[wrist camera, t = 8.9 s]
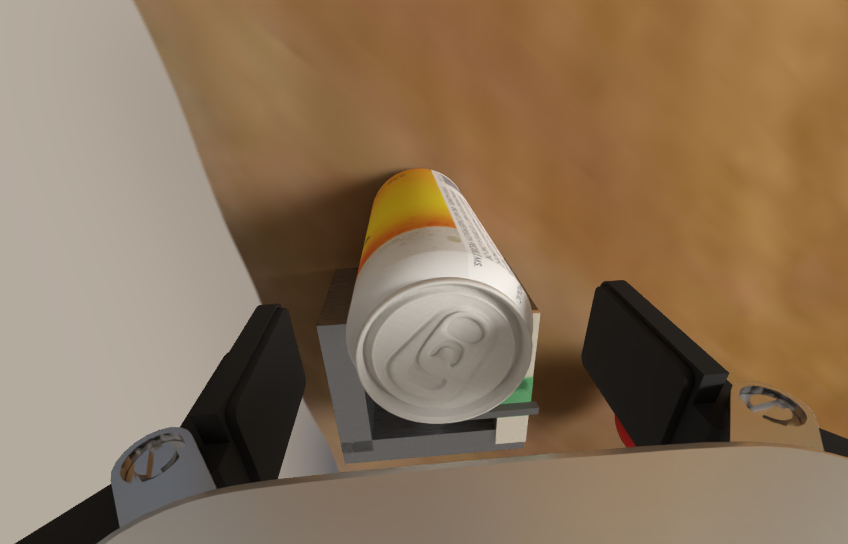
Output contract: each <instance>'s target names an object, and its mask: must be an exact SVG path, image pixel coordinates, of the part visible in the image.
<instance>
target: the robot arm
mask: <svg viewBox="0 0 848 544" xmlns="http://www.w3.org/2000/svg"><path fill="white" fill-rule="evenodd" d="M582 362H583V365H584V367H585V369H586V370H587V372H588V373H589V375H590V376H591V378H592V379H593V381H594V382H595V384H596V386H597V387H598V389H599V390H600V392H601V393H602V395H603V396H604V398H605V399H606V401H607V403H608V404H609V406H610V407H611V409H612V410H613V412H614V413H615V415H616V416H617V418H618V419H619V421H620V423H621V424H622V426H623V427H624V429H625V430H626V432H627V433H628V435H629V436H630V438H631V440H632V441H633V443H634V444H635V446H636V447H628V448H616V449H604V450H591V451H579V452H567V453H554V454H542V455H531V456H519V457H507V458H496V459H484V460H473V461H461V462H450V463H438V464H427V465H416V466H406V467H395V468H384V469H373V470H362V471H351V472H341V473H331V474H321V475H312V476H303V477H293V478H284V479H278V476H279V473H280V469H281V466H282V463H283V459H284V456H285V452H286V449H287V446H288V442H289V439H290V436H291V432H292V429H293V426H294V422H295V419H296V416H297V412H298V409H299V405H300V402H301V399H302V396H303V392H304V389H305V381H306V380H305V373H304V370H303V366H302V362H301V358H300V354H299V350H298V347H297V343H296V339H295V335H294V331H293V328H292V324H291V320H290V316H289V312H288V310H287V309H286V308H282V307H281V306H280V305H279V304H269V305H259V306H258V307H257V308H256V309H255V311H254V313H253V314H252V316H251V317H250V319H249V321H248V323H247V324H246V325H245V327H244V329H243V330H242V332H241V334H240V335H239V337H238V339H237V340H236V342H235V343H234V345H233V347H232V348H231V350H230V352H229V353H227V354H226V355H225V356H224V357H223V359H222V360H221V362H220V364H219V366H218V367H217V369H216V370H215V372H214V373H213V375H212V377H211V378H210V380H209V381H208V383H207V385H206V386H205V388H204V390H203V391H202V393H201V394H200V396H199V397H198V399H197V401H196V402H195V404H194V405H193V407H192V409H191V410H190V412H189V414H188V415H187V417H186V418H185V420H184V421H183V423H182V425H181V426H180V427H169V428H165V429H161V430H158V431H156V432H153V433H151V434H149V435H146V436H145V437H143V438H142V439H140V440H138V441H137V442H135V443H134V444H133V445H132V446H131V447H129V448H128V449H127V450H126V451H125V452H124V453H123V454H122V455H121V457H120V458H119V459H118V460H117V461H116V463H115V465H114V467H113V469H112V472H111V484H110V485H108V486H107V487H105V488H104V489H102V490H101V491H99V492H97V493H96V494H94V495H93V496H91V497H89V498H88V499H86V500H85V501H83V502H81V503H80V504H78V505H76V506H75V507H73V508H71V509H70V510H68V511H67V512H65V513H63V514H62V515H61V516H59V517H57V518H56V519H54V520H52V521H51V522H49V523H47V524H46V525H44V526H43V527H41V528H39V529H38V530H36V531H34V532H33V533H31V534H30V535H28V536H26V537H25V538H23V539H22V540H20V541H18V542H17V543H15V544H848V439H846V438H844V437H841V436H838V435H836V434H833V433H831V432H828V431H825V430H823V429H820V428H819V427H818V422H817V419H816V417H815V415H814V413H813V412H812V411H811V410H810V409H809V408H808V407H807V405H806V404H804V403H803V402H802V401H800V400H799V399H798V398H796V397H795V396H793V395H791V394H789V393H787V392H786V391H784V390H782V389H779V388H777V387H774V386H771V385H769V384H764V383H760V382H754V381H742V382H738V383H736V384H734V385H732V384H731V383H730V382H729V381H727V380H726V379H727V377H728V375H729V372H728V371H726V370H725V369H724V368H723V367H722V366H721V365H720V364H719V363H717V362H716V361H715V360H714V359H713V358H712V357H711V356H710V355H708V354H707V353H706V352H705V351H704V350H703V349H702V348H701V347H699V346H698V345H697V344H696V343H695V342H694V341H693V340H692V339H690V338H689V337H688V336H687V335H686V334H685V333H684V332H682V331H681V330H680V329H679V328H678V327H677V326H676V325H675V324H673V323H672V322H671V321H670V320H669V319H668V318H667V317H666V316H664V315H663V314H662V313H661V312H660V311H659V310H658V309H657V308H655V307H654V306H653V305H652V304H651V303H650V302H649V301H648V300H646V299H645V298H644V297H643V296H642V295H641V294H640V293H639V292H637V291H636V290H635V289H634V288H633V287H632V286H631V285H630V284H628V283H627V282H626V281H624V280H618V281H604V282H603V283H602V284H601V286H599V287H597V288H596V290H595V294H594V299H593V303H592V308H591V313H590V317H589V322H588V327H587V332H586V336H585V341H584V346H583V351H582Z"/></svg>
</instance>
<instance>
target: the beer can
mask: <svg viewBox="0 0 848 544" xmlns="http://www.w3.org/2000/svg"><path fill="white" fill-rule="evenodd" d="M532 334H533V313H532V308H531V305H530V302H529V299H528V297H527V294H526V293H525V291H524V289H523V288H522V286H521V285H520V283H519V282H518V280H517V278H516V277H515V275H514V274H513V272H512V271H511V269H510V268H509V266H508V265H507V263H506V261H505V260H504V258H503V257H502V255H501V254H500V252H499V251H498V249H497V247H496V246H495V244H494V243H493V241H492V240H491V238H490V237H489V235H488V234H487V232H486V230H485V229H484V227H483V226H482V224H481V223H480V221H479V220H478V218H477V217H476V215H475V213H474V212H473V210H472V209H471V207H470V206H469V204H468V203H467V201H466V200H465V198H464V196H463V195H462V193H461V192H460V190H459V189H458V187H457V186H456V185H455V184H454V183H453V182H452V181H451V180H450V179H449V178H448V177H446V176H445V175H443V174H441V173H439V172H437V171H434V170H430V169H422V168H417V169H409V170H405V171H402V172H400V173H398V174H396V175H394V176H393V177H391V178H390V179H389V180H387V181H386V182H385V183H384V184H383V186H382V187H381V188H380V190H379V191H378V193H377V195H376V197H375V199H374V203H373V207H372V211H371V216H370V220H369V224H368V229H367V233H366V238H365V242H364V247H363V251H362V256H361V260H360V265H359V269H358V274H357V278H356V283H355V287H354V292H353V296H352V301H351V305H350V309H349V314H348V319H347V324H346V344H347V348H348V352H349V355H350V358H351V360H352V363H353V364H354V366H355V368H356V371H357V375H358V377H359V380H360V382H361V384H362V386H363V388H364V389H365V391H366V392H367V394H368V395H369V396H370V397H371V398H372V399H373V400H374V401H375V402H376V403H377V404H378V405H380V406H381V407H382V408H384V409H385V410H387V411H388V412H390V413H392V414H394V415H396V416H399V417H401V418H404V419H407V420H411V421H415V422H421V423H430V424H445V423H454V422H459V421H464V420H468V419H471V418H474V417H477V416H479V415H481V414H484V413H486V412H488V411H490V410H491V409H493V408H495V407H496V406H498V405H499V404H501V403H502V402H503V401H505V400H506V399H507V398H508V397H509V396H510V395H511V394H512V393H513V392H514V391H515V390H516V389H517V387H518V386H519V385H520V384H521V382H522V380H523V379H524V377H525V375H526V373H527V371H528V369H529V366H530V362H531V358H532V347H533V344H532Z"/></svg>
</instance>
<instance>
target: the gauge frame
mask: <svg viewBox="0 0 848 544" xmlns="http://www.w3.org/2000/svg"><path fill="white" fill-rule="evenodd" d="M504 260H505V258H504ZM505 261H506V260H505ZM506 263H507V261H506ZM507 265H508V266H509V264H508V263H507ZM509 268H510V269H511V267H510V266H509ZM358 269H359V268H351V269H336V271H335V274H334V277H333V280H332V283H331V286H330V289H329V291H328V294H327V297H326V300H325V303H324V306H323V309H322V311H321V314H320V317H319V320H318V323H317V326H316V327H317V332H318V337H319V341H320V346H321V351H322V356H323V361H324V365H325V370H326V375H327V380H328V385H329V389H330V394H331V399H332V404H333V408H334V413H335V418H336V423H337V428H338V432H339V437H340V442H341V447H342V452H343V456H344V461H345V464H348V463H359V462H370V461H381V460H393V459H404V458H415V457H426V456H438V455H449V454H460V453H472V452H483V451H494V450H505V449H517V448H523V443H524V442H526V433H527V425H528V416H529V415H523V416H511V417H499V418H487V419H476V420H464V421H459V422H454V423H445V424H430V423H421V422H415V421H411V420H407V419H404V418H401V417H399V416H396V415H394V414H392V413H390V412H388V411H387V410H385V409H384V408H382V407H381V406H380V405H378V404H377V403H376V402H375V401H374V400H373V399H372V398H371V397H370V396H369V395H368V394H367V392H366V391H365V389H364V388H363V386H362V384H361V382H360V380H359V377H358V375H357V371H356V368H355V366H354V364H353V363H352V360H351V358H350V355H349V352H348V348H347V344H346V324H347V319H348V314H349V309H350V305H351V301H352V296H353V292H354V287H355V283H356V278H357V274H358ZM511 271H512V272H513V270H512V269H511ZM513 274H514V275H515V273H514V272H513ZM515 277H516V275H515ZM516 278H517V277H516ZM517 280H518V278H517ZM518 282H519V283H520V281H519V280H518ZM520 285H521V286H522V284H521V283H520ZM522 288H523V289H524V287H523V286H522ZM524 291H525V293H526V294H527V297H528V299H529V302H530V305H531V308H532V313H533V334H532V344H533V347H532V358H531V362H530V366H529V369H528V371H527V373H526V375H525V377H524V379H523V380H522V382H521V384H520V385H519V386H518V387H517V389H516V390H515V391H514V392H513V393H512V394H511V395H510V396H509V397H508V398H507V399H506V400H505V401H503V402H502V403H501V404H509V403H521V402H531V396H532V387H533V379H534V378H533V373H534V364H535V355H536V347H537V338H538V329H539V321H540V312H539V310H538V309H537V307H536V305H535V304H534V302H533V301H532V299H531V298H530V296H529V295H528V293H527V292H526V290H525V289H524Z"/></svg>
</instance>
